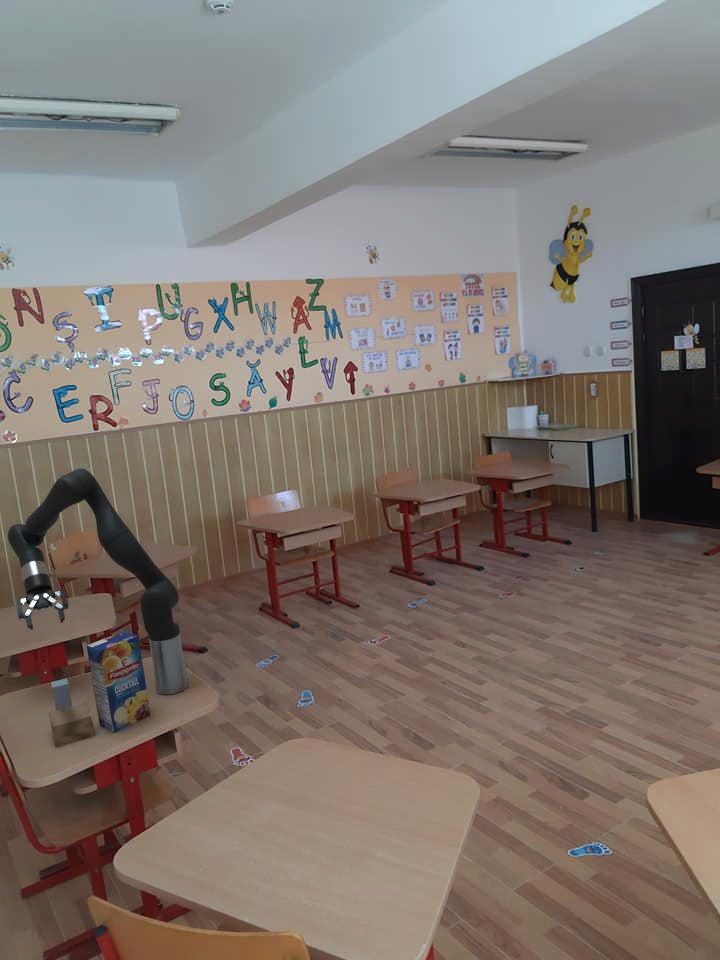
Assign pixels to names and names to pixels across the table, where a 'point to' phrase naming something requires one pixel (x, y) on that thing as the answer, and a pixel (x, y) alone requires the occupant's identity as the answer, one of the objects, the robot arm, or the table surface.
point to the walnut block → (71, 724)
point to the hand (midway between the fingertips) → (47, 624)
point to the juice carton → (118, 681)
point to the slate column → (61, 694)
